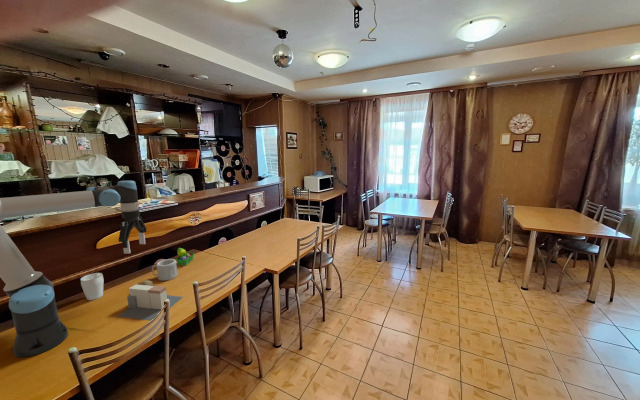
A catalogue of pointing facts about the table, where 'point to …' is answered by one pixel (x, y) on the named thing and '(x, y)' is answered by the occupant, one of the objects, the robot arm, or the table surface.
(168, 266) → the mug
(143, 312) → the slate mat
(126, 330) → the table surface
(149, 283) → the bread roll
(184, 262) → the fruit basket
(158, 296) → the brown topped white box
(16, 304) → the robot arm
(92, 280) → the cup
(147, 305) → the cream rectangular block
